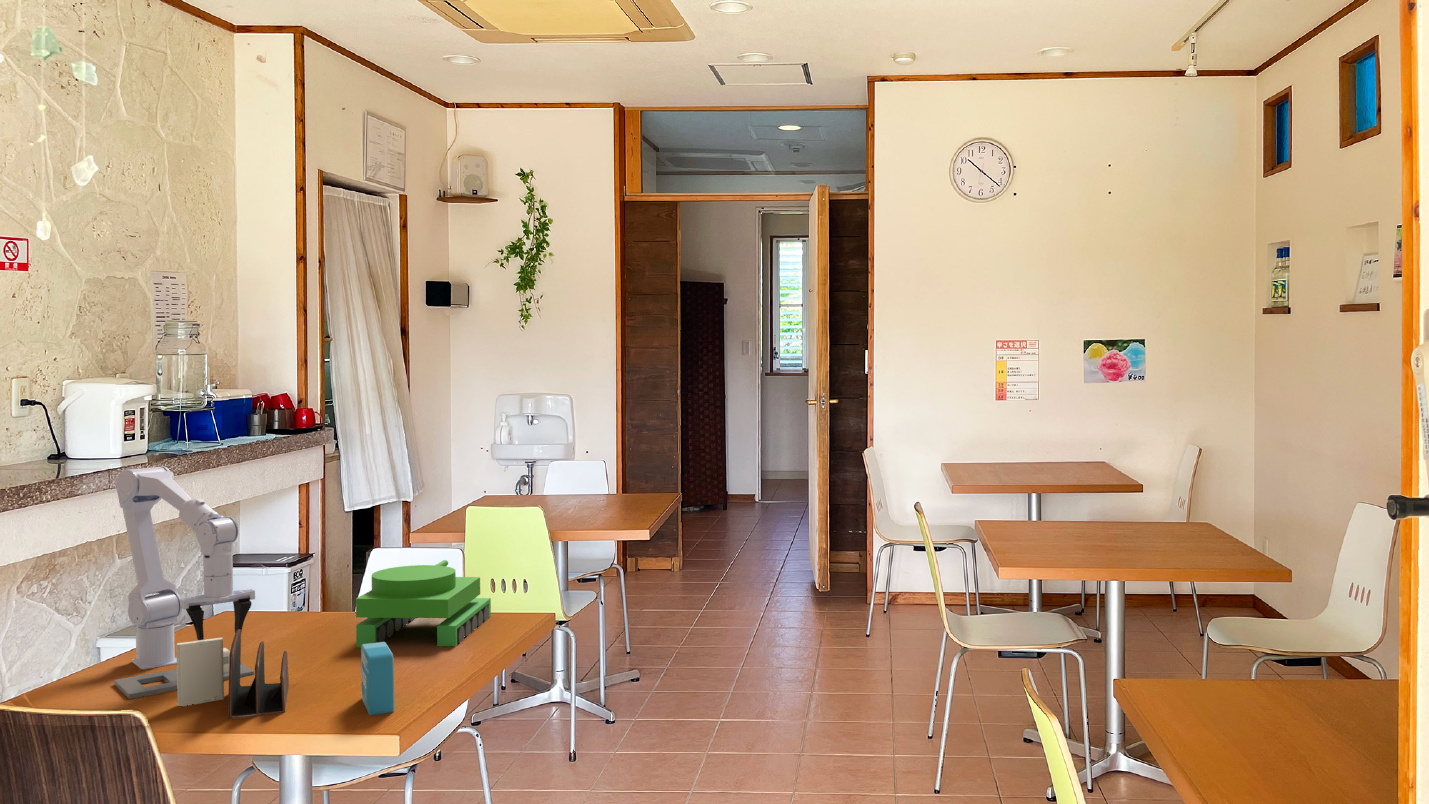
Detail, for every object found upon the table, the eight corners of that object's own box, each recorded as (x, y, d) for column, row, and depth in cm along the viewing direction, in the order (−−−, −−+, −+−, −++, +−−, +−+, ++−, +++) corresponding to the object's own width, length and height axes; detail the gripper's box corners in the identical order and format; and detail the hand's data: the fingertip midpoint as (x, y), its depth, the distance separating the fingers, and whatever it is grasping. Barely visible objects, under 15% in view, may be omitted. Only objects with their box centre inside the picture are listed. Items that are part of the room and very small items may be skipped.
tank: (498, 617, 281) (497, 556, 281) (458, 653, 246) (457, 583, 246) (408, 616, 283) (407, 555, 282) (355, 652, 248) (354, 582, 247)
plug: (205, 671, 232) (204, 648, 232) (222, 668, 234) (221, 645, 234) (215, 678, 226) (214, 655, 226) (232, 675, 229) (232, 652, 228)
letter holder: (228, 723, 198) (226, 648, 198) (236, 692, 217) (235, 624, 216) (285, 717, 201) (284, 643, 201) (289, 687, 220) (288, 619, 220)
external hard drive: (224, 701, 211) (223, 638, 210) (178, 708, 206) (177, 645, 206) (223, 698, 212) (221, 637, 212) (177, 706, 208) (176, 643, 207)
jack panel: (114, 684, 222) (114, 678, 222) (235, 663, 238) (235, 657, 238) (129, 699, 212) (129, 692, 212) (254, 675, 228) (254, 669, 228)
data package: (361, 703, 209) (360, 642, 209) (385, 699, 211) (384, 639, 211) (369, 721, 198) (368, 657, 198) (394, 717, 200) (393, 654, 200)
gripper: (187, 581, 221) (188, 646, 221) (259, 572, 230) (260, 634, 231) (177, 576, 226) (179, 639, 227) (248, 567, 236) (249, 628, 236)
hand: (219, 636), depth 229 cm, fingers open, 7 cm apart
